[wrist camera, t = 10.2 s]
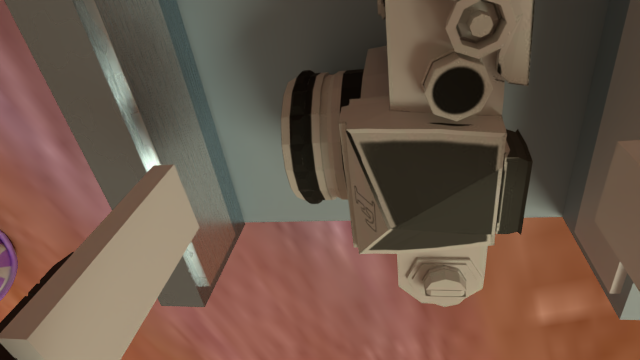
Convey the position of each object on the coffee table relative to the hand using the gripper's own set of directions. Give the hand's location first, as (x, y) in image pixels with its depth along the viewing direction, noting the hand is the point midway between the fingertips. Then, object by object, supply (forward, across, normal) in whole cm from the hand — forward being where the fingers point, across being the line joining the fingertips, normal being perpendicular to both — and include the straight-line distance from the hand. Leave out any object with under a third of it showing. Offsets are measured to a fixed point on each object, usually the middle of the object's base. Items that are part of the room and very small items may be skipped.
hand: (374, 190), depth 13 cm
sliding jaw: (+9, -10, +2) cm, 14 cm away
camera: (+9, 0, 0) cm, 9 cm away
